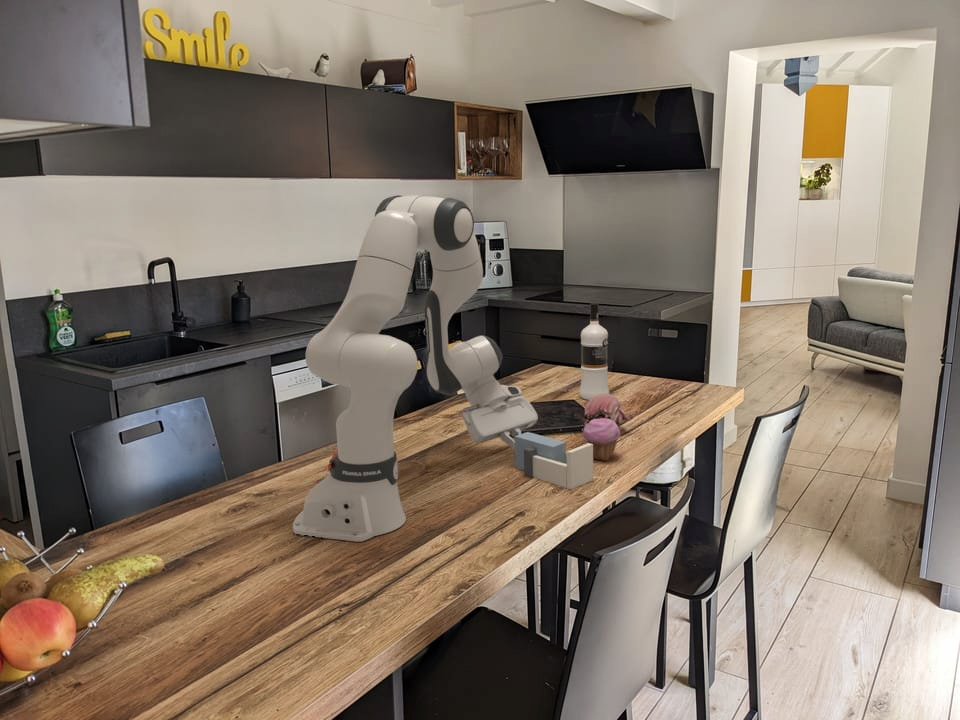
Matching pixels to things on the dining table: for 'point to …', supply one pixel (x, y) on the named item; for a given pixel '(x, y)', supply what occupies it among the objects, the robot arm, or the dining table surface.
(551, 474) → the frame
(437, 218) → the robot arm
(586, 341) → the vodka
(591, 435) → the cupcake
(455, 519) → the dining table surface
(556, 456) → the grey rectangular box
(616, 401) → the toy
